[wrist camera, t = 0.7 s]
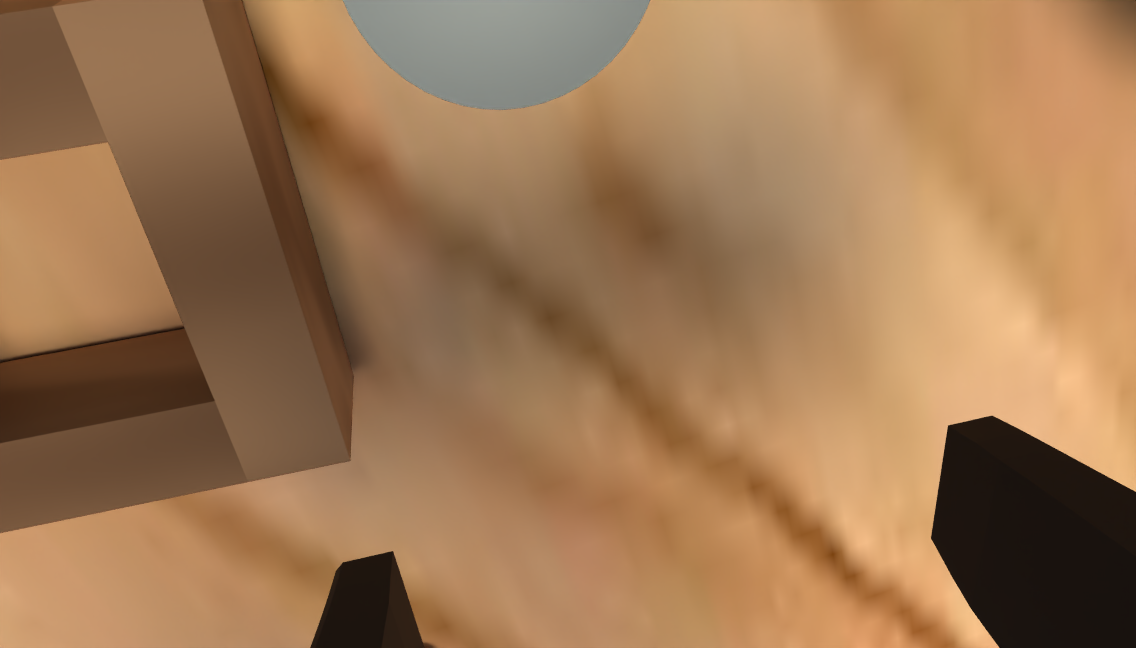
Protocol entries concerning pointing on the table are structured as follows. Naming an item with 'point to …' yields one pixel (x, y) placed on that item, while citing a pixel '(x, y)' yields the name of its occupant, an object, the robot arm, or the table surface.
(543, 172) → the table surface
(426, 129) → the table surface
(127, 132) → the brown square frame
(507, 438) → the table surface
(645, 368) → the table surface
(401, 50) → the dowel
